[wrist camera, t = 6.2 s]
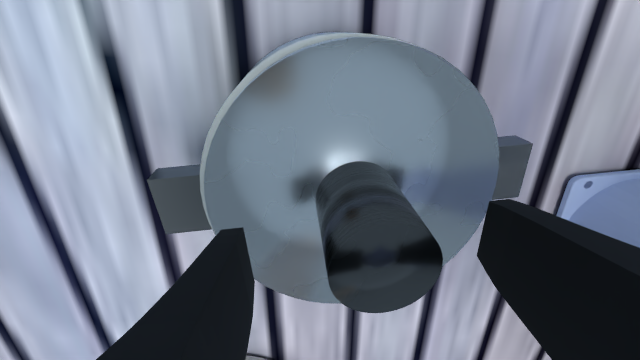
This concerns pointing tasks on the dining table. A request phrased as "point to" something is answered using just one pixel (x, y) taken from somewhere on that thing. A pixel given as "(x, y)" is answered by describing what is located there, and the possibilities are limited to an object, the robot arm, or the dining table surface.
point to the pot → (188, 181)
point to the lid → (353, 171)
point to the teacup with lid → (254, 358)
